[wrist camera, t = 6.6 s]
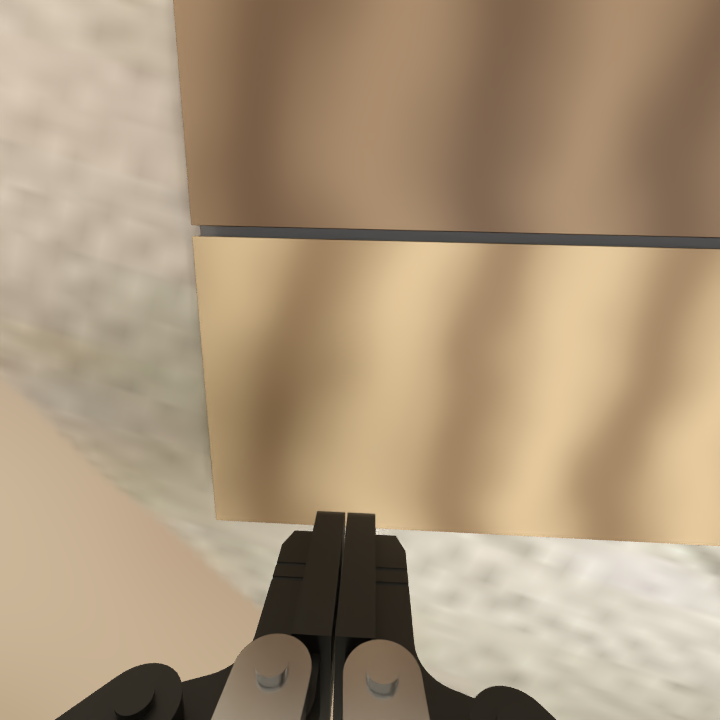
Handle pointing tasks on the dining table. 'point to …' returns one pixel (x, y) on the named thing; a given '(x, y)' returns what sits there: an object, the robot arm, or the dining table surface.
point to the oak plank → (464, 385)
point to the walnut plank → (453, 115)
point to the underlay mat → (462, 237)
